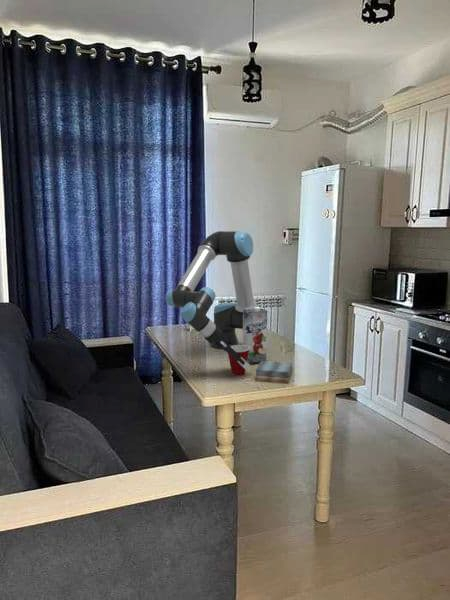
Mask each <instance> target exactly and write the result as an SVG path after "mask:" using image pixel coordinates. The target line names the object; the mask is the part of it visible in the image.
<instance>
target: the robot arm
mask: <svg viewBox="0 0 450 600" xmlns="http://www.w3.org/2000/svg"><path fill="white" fill-rule="evenodd" d="M253 252H254V242H253V238H252V236H251V234H250V233H249V232H246V231H240V230H237V231H236V230H235V231H234V230H231V231H229V230H227V231H225V230H224V231H223V230H220V231H215V232H213V233H211V234H209V236H207V237H206V238H205V239H204V240H203V241H202V242H201V243H200V245H199V246H198V248H197V253H196V255H195V256H194V258H193V260H192V261H191V262H190V265H189V266H188V268H187V270H186V272H185V273H184V274H183V276H182V277H181V279H180V281H179V283H178V284H177V286H176V287H175V289H169V290H168V291H166V294H165V302H166V305H168V306H169V307H175V308H181V310H180V312H179V315H180V316H181V318H182V319H183V320H184V321H185V322H186V323H187V324H188V325H189V326H190V325H191V326H192V327H193V328H194V329H195V330H196V331H197V332H198V333H197V335H198V336H200V335H201V337H203V338H204V340H206V341H207V342H208V344H209V345H210V346H211V347H212V348H214V349H219V350H223V351H225V352H226V353H227V352H228V353H229V354H230V355H231V356H232V357H233V358H235V359H236V361H235V362H238V363H239V364H240V365H241V366H242V367H243V368H245V369H246V370H245V371H247V370H248V369H250V367H251V365H252V364H249V363H247V362H246V361H245V360H244V359H243V358H242V357H241V356H240V355H239V354H238V353H237V352H236V351H235V350H233V349H232V348H231V347H230V346H234V345H239V340H238V337H237V333H236V329H239V330H243V309H254V307H258V304H257V302H256V301H254V296H253V289H252V288H253V287H252V281H251V275H250V268H249V267H250V266H249V260H250V258H251V256H252V254H253ZM218 256H225V257H226V260H227V262H228V263H230V268H231V273H232V279H233V285H234V292H235V299H236V303H235V302H234V303H233V302H227V303H220V304H216V305H215V306H214V308H213V320H211V319H210V318H209V317H208V316H207V313H208V312H209V311H210V308H211V307H212V305H213V304H214V301H215V299H216V297H217V296H216V293H215V291H214V290H213V289H212V288H210V287H207V286H204V287H201V288H200V289H199V291H195V289H196V288H197V285H198V284H199V282H200V281H201V279H202V277H203V276H204V274H205V272H206V270H208V269H207V268H208V267H209V265H210V263H211V262H212V261H214V260H215V259H216V258H217V257H218ZM228 353H227V354H228Z"/></svg>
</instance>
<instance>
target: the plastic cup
mask: <svg viewBox="0 0 450 600" xmlns="http://www.w3.org/2000/svg"><path fill="white" fill-rule="evenodd" d="M230 347H231V348H232V349H233V350H235V351H236V352H237V353H238V354H239V355H240V356H241V357H242V358H243V359H244V360H245V361H246V362H247V359H248V354H249V350H250V347H249V346H247V345H243V344H238V345H234V346H230ZM226 354H227V356H228V360H229V366H230V370H231V371H230V373H231V374H232V375H233V376H244V375H245V373H246V371H247V370H246V369H245V368H243V367H242V366H241V365H240V364H239V363H238V362H235V361H236V359H235V358H233V357H232V356H231V355H230V354H229V353H228V352H226Z"/></svg>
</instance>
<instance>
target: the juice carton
mask: <svg viewBox="0 0 450 600" xmlns="http://www.w3.org/2000/svg"><path fill="white" fill-rule="evenodd" d="M242 345H247V346H249V347H250V350H249V354H248V359H247V363H248V364H249V365H255V364H260V362H261V361H267V353H268V352H267V350H268V346H267V345H268V310H267V309H264V308H261V307H260V306H257V307H254V309H243V329H242Z"/></svg>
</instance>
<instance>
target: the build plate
mask: <svg viewBox="0 0 450 600" xmlns="http://www.w3.org/2000/svg"><path fill="white" fill-rule="evenodd" d="M292 372H293V362H285V361H284V362H283V361H269V360H266V361H261V362H260V363H258V366H257V368H256V369H255V377H254V381H255V382H262V383H263V382H264V383H274V384H275V383H276V384H287V385H289V382H290V378H291V376H292Z"/></svg>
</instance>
